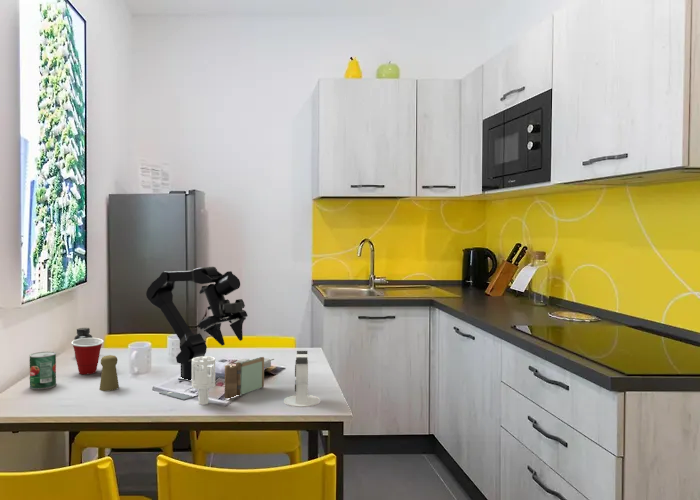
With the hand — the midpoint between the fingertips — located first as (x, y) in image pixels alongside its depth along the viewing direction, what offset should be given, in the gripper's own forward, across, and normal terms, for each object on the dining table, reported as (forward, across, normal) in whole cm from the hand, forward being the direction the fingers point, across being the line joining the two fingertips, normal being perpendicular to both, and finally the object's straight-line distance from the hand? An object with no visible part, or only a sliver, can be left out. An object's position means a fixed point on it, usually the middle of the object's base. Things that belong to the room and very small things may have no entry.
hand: (232, 342), depth 193 cm
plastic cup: (-12, -14, +58) cm, 61 cm away
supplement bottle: (-22, 0, +77) cm, 80 cm away
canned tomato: (-11, -33, +55) cm, 65 cm away
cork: (-2, -23, +37) cm, 43 cm away
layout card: (+10, -15, +14) cm, 23 cm away
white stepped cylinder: (+16, -18, +3) cm, 24 cm away
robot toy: (+10, +20, +14) cm, 26 cm away
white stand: (+27, -1, -19) cm, 33 cm away
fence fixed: (+17, -10, -1) cm, 20 cm away
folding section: (+17, -1, -1) cm, 17 cm away
